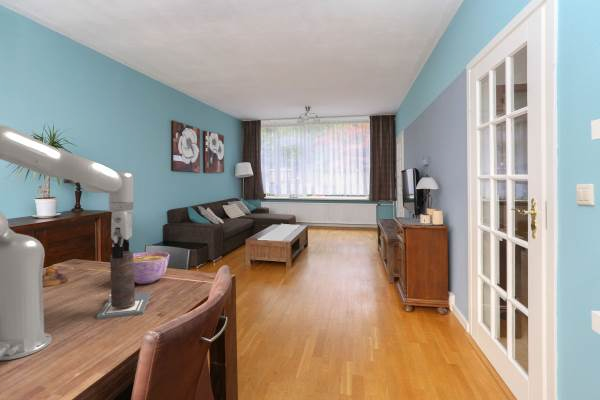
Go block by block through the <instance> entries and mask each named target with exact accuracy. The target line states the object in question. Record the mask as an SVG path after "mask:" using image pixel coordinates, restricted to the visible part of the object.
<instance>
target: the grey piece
mask: <svg viewBox="0 0 600 400" xmlns="http://www.w3.org/2000/svg"><path fill="white" fill-rule="evenodd" d="M151 294H152V291H151V290H150V291H140V292H135V305H134V306H130V307H123V308H115V307H112V304H111V293H110V294H109V295H108V300H107V302H106V303H105V304H104V305H103V306H102V308H101V310H100V311H99V312H98V313H97V315H96V320H102V319H112V318H119V317H127V316H137V315H143V314H144V312H145V310H146V307H147V304H148V302H149V300H150V297H151ZM111 317H112V318H111Z"/></svg>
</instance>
